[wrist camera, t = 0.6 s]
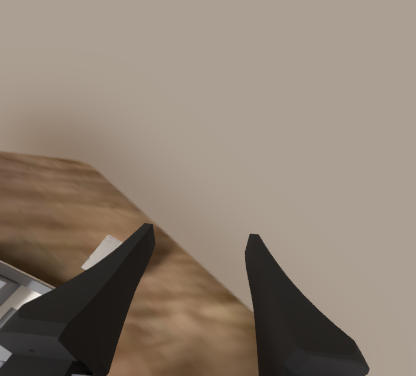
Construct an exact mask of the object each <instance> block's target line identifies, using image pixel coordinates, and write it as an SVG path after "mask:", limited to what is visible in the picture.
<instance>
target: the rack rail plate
mask: <svg viewBox="0 0 416 376" xmlns="http://www.w3.org/2000/svg"><path fill="white" fill-rule="evenodd" d="M53 289H55V287H53V286H51V285H49V284H47V283H45V282H43V281H41V280H39V279H37V278H35V277H33V276H31V275H29V274H27V273H25V272H23V271H21V270H19V269H17V268H15V267H13V266H11V265H9V264H7V263H5V262H3V261H1V260H0V328H1V327H2V326H3V325H4V324H5V323H6V322H7V321H8V319H9V318H10V317H11V316H12V315H13V314H14V313H15V312H16V311H17V310H18V309H19V308H20V307H21V306H22V305H23V304H24V303H27V302H29V301H31V300H33V299H35V298H37V297H39V296H41V295H43V294H45V293H47V292H49V291H51V290H53ZM11 354H12V353H11V352H9V351H8V350H6V349H5V348H4V347H2V346H1V345H0V360H2V361H5V362H6V361H7V359H8V358H9V357H10V356H11Z"/></svg>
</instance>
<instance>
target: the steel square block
mask: <svg viewBox="0 0 416 376" xmlns="http://www.w3.org/2000/svg"><path fill="white" fill-rule="evenodd" d="M122 243H123V242H121V241H119V240H117V239H115V238H113V237H112V236H110V235H108V236H107V237H106V238H105V239H104V240H103V242H102V243H101V244H100V245H99V246H98V248H97V249H96V250H95V251H94V253H93V254H92V255H91V256H90V257H89V259H88V260H87V261H86V262H85V263H84V265H83V266H82V267H81V268H83V269H85V270H87V269H89V268H90V267H92V266H93V265H95V264H96V263H98V262H99V261H100V260H102V259H103V258H105V257H106V256H107V255H109V254H110V253H111V252H112V251H114V250H115V249H116V248H117V247H119V246H120V245H121V244H122Z"/></svg>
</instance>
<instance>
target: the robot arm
mask: <svg viewBox="0 0 416 376" xmlns="http://www.w3.org/2000/svg"><path fill="white" fill-rule="evenodd" d="M154 246H155V238H154V230H153V224H147V223H144V224H143V225H142V226H141V227H140V228H139V229H138V230H137V231H136V232H134V233H133V234H132V235H131V236H130V237H129V238H128V239H127V240H126V241H124V242H123V243H122V244H121V245H120V246H119V247H117V248H116V249H115V250H114V251H112V252H111V253H110V254H109V255H107V256H106V257H105V258H103V259H102V260H100V261H99V262H98V263H96V264H95V265H93V266H92V267H90V268H89V269H87V270H86V271H84V272H82V273H81V274H79V275H78V276H76V277H74V278H73V279H71V280H69V281H67V282H66V283H64V284H62V285H60V286H58V287H57V288H55V289H53V290H51V291H49V292H47V293H45V294H43V295H41V296H39V297H37V298H35V299H33V300H31V301H29V302H27V303H24V304H23V305H22V306H21V307H20V308H19V309H18V310H17V311H16V312H15V313H14V314H13V315H12V316H11V317H10V318H9V319H8V321H7V322H6V323H5V324H4V325H3V326H2V327H1V328H0V345H1V346H2V347H4V348H5V349H6V350H8V351H9V352H11V353H12V354H11V356H10V357H9V358H8V359H7V361H6V362H5V361H2V360H0V376H106V375H107V374H108V373H109V370H110V367H111V363H112V360H113V357H114V353H115V350H116V347H117V343H118V340H119V337H120V334H121V331H122V328H123V324H124V321H125V319H126V316H127V313H128V310H129V307H130V304H131V301H132V298H133V296H134V293H135V291H136V288H137V286H138V284H139V282H140V279H141V277H142V275H143V273H144V271H145V269H146V266H147V264H148V262H149V260H150V258H151V255H152V252H153V249H154ZM245 262H246V270H247V275H248V280H249V286H250V291H251V295H252V301H253V309H254V319H255V329H256V341H257V354H258V369H259V376H365V375H367V374H368V372H369V367H368V365H367V363H366V361H365V359H364V357H363V355H362V353H361V351H360V350H359V348H358V346H357V345H356V343H355V341H354V340H353V339H351V338H350V337H349V336H348V335H347V334H346V333H344V332H343V331H342V330H341V329H340V328H338V327H337V326H336V325H335V324H334V323H333V322H331V321H330V320H329V319H328V318H327V317H326V316H325V315H323V314H322V313H321V312H320V311H319V310H318V309H317V308H316V307H315V306H314V305H313V304H312V303H311V302H310V301H309V300H308V299H307V298H306V297H305V296H304V295H303V294H302V293H301V292H300V290H299V289H298V288H297V287H296V286H295V285H294V284H293V283H292V281H291V280H290V279H289V278H288V277H287V275H286V274H285V273H284V271H283V270H282V269H281V268H280V266H279V265H278V264H277V262H276V261H275V259H274V258H273V256H272V255H271V254H270V252H269V251H268V249H267V247H266V246H265V244H264V243H263V241H262V239H261V238H260V236H259V235H258V234H250V235H249V239H248V243H247V246H246V250H245Z"/></svg>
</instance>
